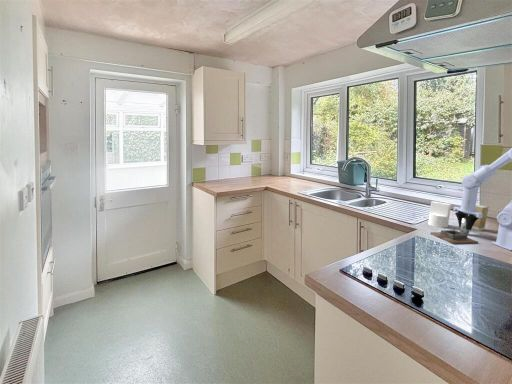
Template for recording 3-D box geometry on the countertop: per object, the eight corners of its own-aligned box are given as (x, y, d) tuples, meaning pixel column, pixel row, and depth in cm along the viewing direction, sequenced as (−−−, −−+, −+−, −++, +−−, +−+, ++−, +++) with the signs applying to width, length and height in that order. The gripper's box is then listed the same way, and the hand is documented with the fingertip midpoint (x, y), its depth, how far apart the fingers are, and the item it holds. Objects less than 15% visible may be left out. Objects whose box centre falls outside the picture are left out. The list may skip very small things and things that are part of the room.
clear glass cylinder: (470, 233, 144) (472, 219, 143) (464, 233, 143) (466, 219, 142) (464, 231, 147) (466, 217, 146) (458, 231, 147) (460, 217, 146)
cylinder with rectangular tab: (425, 224, 160) (428, 202, 158) (432, 221, 166) (434, 200, 164) (444, 228, 154) (447, 205, 151) (450, 225, 160) (453, 203, 157)
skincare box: (466, 227, 156) (469, 204, 154) (472, 226, 158) (475, 204, 156) (479, 231, 150) (483, 207, 148) (485, 230, 152) (488, 206, 150)
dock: (477, 243, 132) (478, 237, 132) (453, 244, 131) (454, 238, 130) (453, 233, 146) (453, 227, 145) (430, 234, 144) (431, 228, 144)
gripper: (490, 204, 136) (485, 232, 139) (464, 197, 150) (460, 224, 153) (476, 204, 135) (471, 233, 138) (451, 197, 149) (447, 224, 152)
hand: (465, 228), depth 145 cm, fingers closed on clear glass cylinder, 4 cm apart
